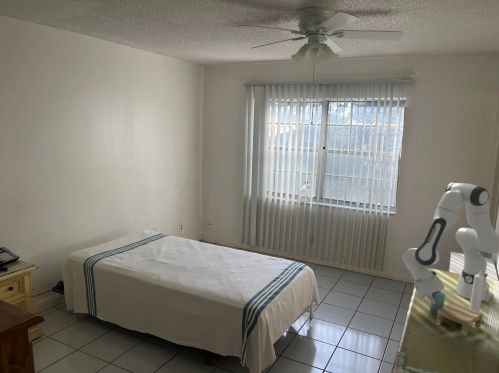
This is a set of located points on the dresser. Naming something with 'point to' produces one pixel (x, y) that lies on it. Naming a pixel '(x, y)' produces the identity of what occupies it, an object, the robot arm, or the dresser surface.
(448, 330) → the dresser surface
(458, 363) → the dresser surface
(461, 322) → the small wooden stool
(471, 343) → the dresser surface
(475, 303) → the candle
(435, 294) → the teal domed cylinder
